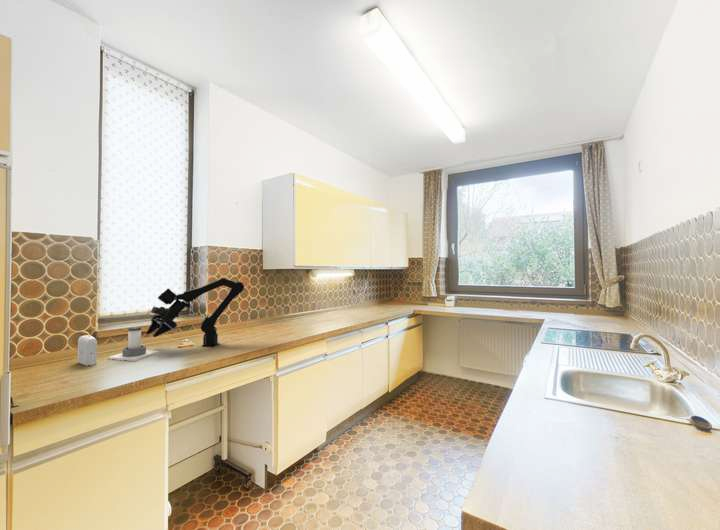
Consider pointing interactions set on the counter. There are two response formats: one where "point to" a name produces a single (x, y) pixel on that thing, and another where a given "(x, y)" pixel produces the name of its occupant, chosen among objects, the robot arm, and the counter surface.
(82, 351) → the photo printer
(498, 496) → the counter surface
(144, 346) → the collar
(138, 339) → the canister
